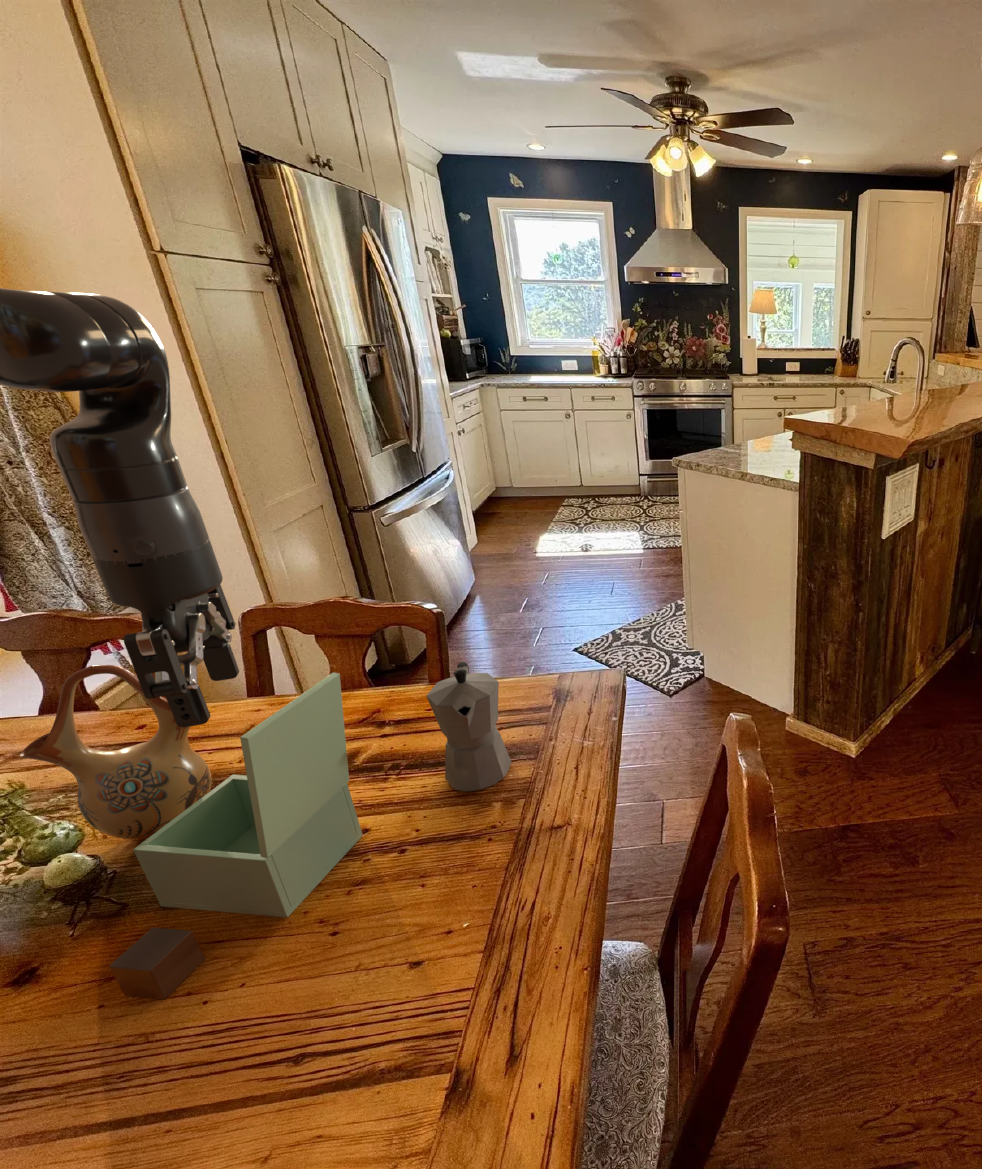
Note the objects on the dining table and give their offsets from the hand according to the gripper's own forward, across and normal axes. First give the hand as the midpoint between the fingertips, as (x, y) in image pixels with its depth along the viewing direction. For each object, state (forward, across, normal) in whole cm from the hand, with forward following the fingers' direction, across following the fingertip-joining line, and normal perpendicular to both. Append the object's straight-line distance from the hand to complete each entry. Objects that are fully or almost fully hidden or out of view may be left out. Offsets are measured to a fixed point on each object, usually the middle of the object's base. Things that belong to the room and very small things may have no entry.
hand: (211, 699), depth 61 cm
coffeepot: (+30, -20, +20) cm, 41 cm away
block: (+29, +4, -10) cm, 31 cm away
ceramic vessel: (+30, -22, -19) cm, 42 cm away
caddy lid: (+12, -5, +3) cm, 13 cm away
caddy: (+29, -9, -4) cm, 31 cm away
